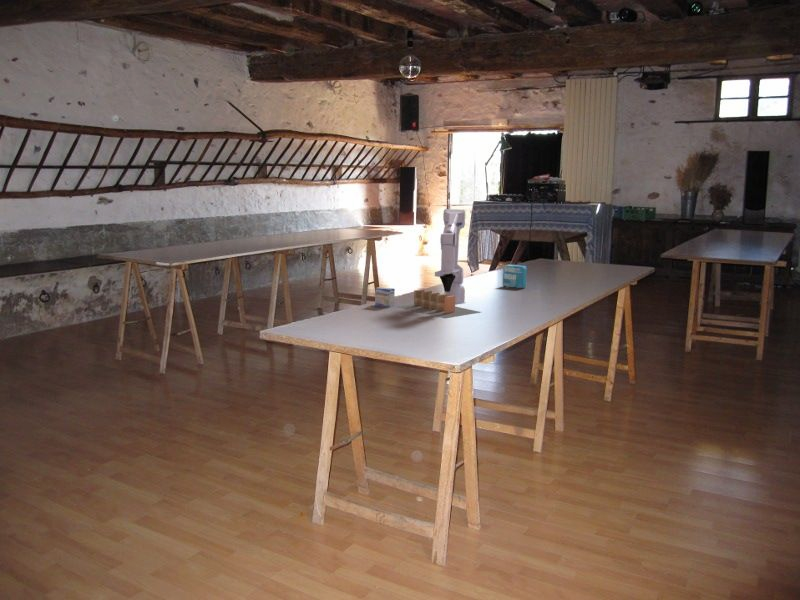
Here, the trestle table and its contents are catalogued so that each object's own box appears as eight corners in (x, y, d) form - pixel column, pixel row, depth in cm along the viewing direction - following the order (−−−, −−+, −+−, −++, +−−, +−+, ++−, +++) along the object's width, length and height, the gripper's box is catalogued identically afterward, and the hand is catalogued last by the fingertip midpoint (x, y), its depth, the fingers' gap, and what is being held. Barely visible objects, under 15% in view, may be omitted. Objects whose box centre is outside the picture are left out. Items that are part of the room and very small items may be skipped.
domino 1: (413, 305, 312) (414, 290, 311) (422, 304, 315) (422, 289, 314) (416, 306, 311) (416, 290, 310) (424, 305, 314) (424, 289, 313)
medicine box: (374, 306, 312) (374, 288, 310) (379, 305, 316) (379, 286, 314) (389, 308, 308) (390, 289, 307) (394, 306, 312) (394, 288, 310)
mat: (432, 302, 324) (432, 301, 324) (481, 313, 300) (481, 312, 300) (396, 307, 310) (396, 306, 310) (445, 319, 286) (445, 318, 286)
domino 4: (436, 311, 301) (436, 295, 300) (444, 309, 304) (444, 293, 303) (438, 311, 300) (439, 295, 298) (446, 310, 303) (447, 294, 302)
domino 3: (428, 309, 305) (429, 293, 303) (436, 308, 308) (437, 292, 307) (430, 309, 304) (431, 293, 302) (439, 308, 307) (439, 292, 305)
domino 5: (444, 312, 297) (444, 296, 296) (452, 311, 300) (452, 295, 299) (446, 313, 296) (447, 297, 295) (454, 312, 299) (455, 295, 298)
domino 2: (421, 307, 308) (421, 291, 307) (429, 306, 312) (429, 290, 310) (423, 308, 307) (423, 292, 306) (431, 306, 310) (431, 291, 309)
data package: (502, 286, 373) (503, 265, 371) (505, 285, 377) (506, 264, 375) (523, 289, 367) (524, 266, 365) (526, 287, 370) (527, 266, 368)
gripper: (443, 262, 288) (443, 294, 290) (465, 260, 298) (464, 290, 300) (431, 261, 293) (430, 292, 295) (453, 258, 303) (452, 288, 305)
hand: (447, 291), depth 298 cm, fingers closed
